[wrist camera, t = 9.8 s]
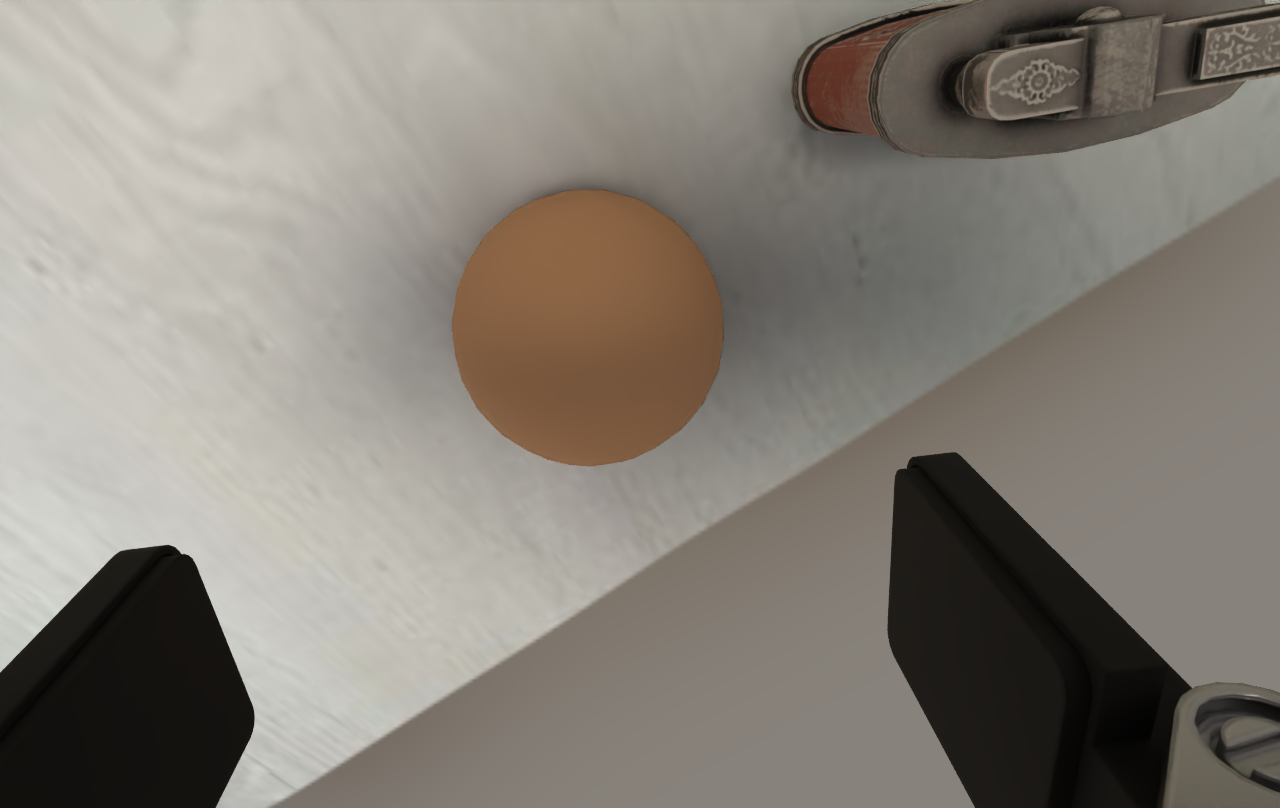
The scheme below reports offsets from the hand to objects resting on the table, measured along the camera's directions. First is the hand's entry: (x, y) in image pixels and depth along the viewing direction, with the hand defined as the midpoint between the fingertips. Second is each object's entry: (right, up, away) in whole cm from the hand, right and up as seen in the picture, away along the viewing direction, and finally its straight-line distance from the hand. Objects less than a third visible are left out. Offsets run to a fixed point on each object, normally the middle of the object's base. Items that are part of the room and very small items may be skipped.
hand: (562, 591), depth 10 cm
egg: (-1, +6, +15) cm, 16 cm away
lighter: (+10, +13, +12) cm, 20 cm away
